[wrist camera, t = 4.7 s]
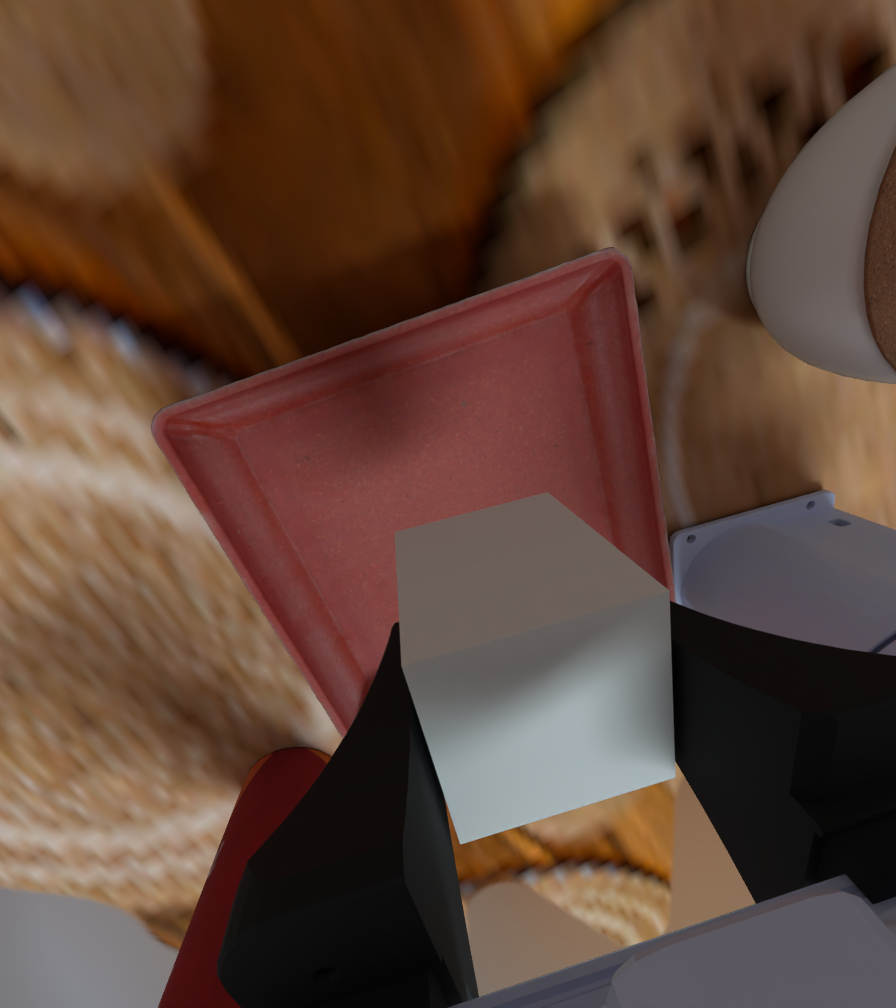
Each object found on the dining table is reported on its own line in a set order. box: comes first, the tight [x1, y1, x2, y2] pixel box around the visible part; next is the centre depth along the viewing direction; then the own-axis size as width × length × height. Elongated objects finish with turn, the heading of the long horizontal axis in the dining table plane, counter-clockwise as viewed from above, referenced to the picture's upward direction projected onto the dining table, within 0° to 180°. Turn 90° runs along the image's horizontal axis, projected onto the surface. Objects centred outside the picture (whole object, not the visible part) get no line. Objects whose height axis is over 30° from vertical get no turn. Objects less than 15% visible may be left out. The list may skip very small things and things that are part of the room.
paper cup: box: [158, 747, 331, 1008], centre depth 18 cm, size 8×8×14 cm
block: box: [395, 492, 675, 844], centre depth 11 cm, size 5×5×6 cm
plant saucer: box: [151, 247, 677, 738], centre depth 19 cm, size 18×18×3 cm
